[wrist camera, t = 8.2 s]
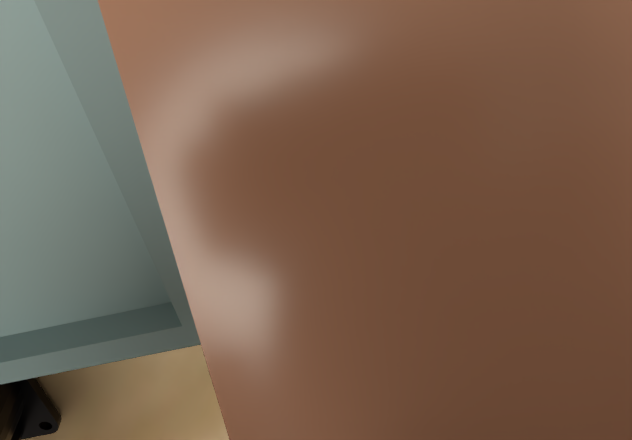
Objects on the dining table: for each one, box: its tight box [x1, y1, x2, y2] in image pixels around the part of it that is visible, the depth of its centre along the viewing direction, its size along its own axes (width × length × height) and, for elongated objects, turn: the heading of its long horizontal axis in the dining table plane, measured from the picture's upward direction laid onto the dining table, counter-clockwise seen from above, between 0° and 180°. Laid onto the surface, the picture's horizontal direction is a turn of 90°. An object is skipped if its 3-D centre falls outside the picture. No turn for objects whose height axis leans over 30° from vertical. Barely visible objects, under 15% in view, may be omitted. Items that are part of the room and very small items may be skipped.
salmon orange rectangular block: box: [98, 0, 632, 440], centre depth 6 cm, size 10×4×3 cm, turn 12°
